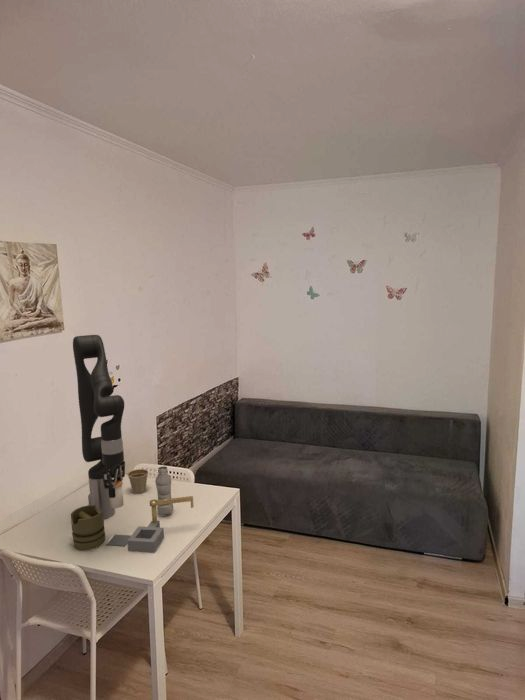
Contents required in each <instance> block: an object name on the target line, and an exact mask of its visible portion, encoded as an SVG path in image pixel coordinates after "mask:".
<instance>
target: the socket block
mask: <svg viewBox="0 0 525 700" xmlns="http://www.w3.org/2000/svg"><path fill="white" fill-rule="evenodd" d="M150 507H151V518H152V519H151V521H150V522H149V524H148V525H147V526H142V525H141V526H140V525H139V526H137V528H136V529H135V530H134V531H133V533H132V534H130V535H131V536H130V538H129V539H128V540H127V544H126V545H127V551H128V552H140V553H141V552H142V553H155V552H156V551H157V549H158V548H159V546H160V545H161V544H162V542H163V540H164V539H165V529H164V527H161V525H160V524H161V523H160V522H161V521H160V520H158V511H157V506H154V507H152V506H150Z"/></svg>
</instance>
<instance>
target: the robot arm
mask: <svg viewBox="0 0 525 700" xmlns="http://www.w3.org/2000/svg"><path fill="white" fill-rule="evenodd" d="M72 351H73V358H74V365H75V370H76V378H77V398H78V407H79V414H80V424H81V450H82V452H81V453H82V457H83V460H84V461H85V462H86V463H92V462H96V461H98V462H97V463H96V464H94V465H93V466H92V467H90V468H89V469H88V471H87V472H88V473H87V474H88V485H89V486H88V487H89V494H88V495H87V498H88V499H87V500H88V505H96V508H97V510H98V511H99V512H101V510H103V516H104V520H105V519H108V518H111V517H113V516H114V515H115V513H116V508H111V507H110V498H115V496H116V495H115V482H116V481H117V480H120V481H122V482H123V480H124V478H125V477H126V461H125V455H124V453H125V452H124V442H123V437H122V420H123V415H124V411H125V400H124V397H122V396H121V395H119V394H114V395H112V394H113V393H114V390H115V389H114V385H113V382H112V380H111V376H110V373H109V372H110V371H109V369H108V361H107V357H106V351H105V344H104V342H103V338H102V337H101V336H100V335H99V334H88V335H87V334H86V335H76V336H74V337H73V338H72ZM94 358H95V359H97V361H96V363H95V365H94V367H93V369H92V371H91V373H90V371H89V370H88V368H87V367H86V364H85V360H87V359H94ZM111 416H112V418H110V419H109V420H107V421H105V422H102V423H101V425H100V436H97V437H93V438H92V432H93V428H94V426H95V423H96V422H97V420H98V418H105V417H111ZM112 482H113V483H112ZM109 497H110V498H109Z"/></svg>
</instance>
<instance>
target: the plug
mask: <svg viewBox="0 0 525 700" xmlns="http://www.w3.org/2000/svg"><path fill="white" fill-rule="evenodd" d="M112 483H113V482H112ZM123 485H124V484H123V480H122V481H120V480H117V481H116V482H115V495H116V496H115V498H110V497H109V498H110V507H111V508H115V509H119V508H122V507H124V505H125V504H124V503H125V502H124V495H123V494H124V491H123Z"/></svg>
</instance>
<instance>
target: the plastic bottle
mask: <svg viewBox="0 0 525 700" xmlns="http://www.w3.org/2000/svg"><path fill="white" fill-rule="evenodd" d="M168 472H169V470H168V467H167V466H164V465H163V466H159V467H158V468H157V473H158V474H157V476H156V477H155V480H154V482H155V486H156V493H157V500H162V499H171V498H172V492H171V491H172V477H171V475H170V474H169V473H168ZM156 510H157V514H159V515H160V516H169V515H172V513H173V512H174V503H171V504H163V505H157V506H156Z"/></svg>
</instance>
